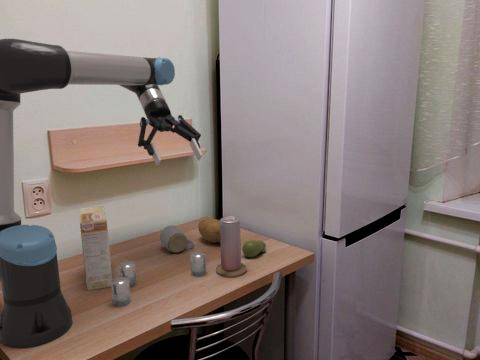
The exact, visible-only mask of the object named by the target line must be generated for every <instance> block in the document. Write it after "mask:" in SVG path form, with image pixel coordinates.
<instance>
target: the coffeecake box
mask: <svg viewBox="0 0 480 360" xmlns="http://www.w3.org/2000/svg"><path fill="white" fill-rule="evenodd" d="M79 226H80V236H81V245H82V246H81V247H82V255H83V266H84V274H85V282H86V290H87V291H92V290H94V291H95V290H97V289H98V290H99V289H104V288H112V287H111V281H112V280H113V272H112V271H113V270H112V263H111V250H110V241H109V231H108V221H107V215H106V210H105V206H104V205H103V206H102V205H101V206H93V207H92V206H91V207H88V206H87V207H81V208H79Z"/></svg>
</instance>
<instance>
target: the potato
mask: <svg viewBox="0 0 480 360" xmlns="http://www.w3.org/2000/svg"><path fill="white" fill-rule="evenodd" d="M198 221H199V220H198ZM197 227H198V232H199V234H200V235H201V238H203V239H204V240H206V241H208V242H209V243H212V244H215V243H220V219H215V218H212V217H204V218H202V219H200V221H199V222H198V225H197Z"/></svg>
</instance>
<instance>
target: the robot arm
mask: <svg viewBox="0 0 480 360" xmlns="http://www.w3.org/2000/svg"><path fill="white" fill-rule="evenodd" d="M175 71H176V70H175V66H174V63H173V62H172V60H170V58H168V57H160V56H159V57H142V56H131V55H120V54H108V53H98V52H97V53H96V52H95V53H94V52H87V51H75V50H74V51H72V50H67V49H66V48H65V47H63V46H61V45H58V44H57V45H56V44H49V43H43V42H42V43H41V42H36V41H31V40H25V39H19V38H2V39H1V38H0V285H1V291H2V298H3V308H2V311H1V317H0V342H1V343H2V344H3V345H6V346H8V347H11V348H28V347H35V346H38V345H43V344H46V343H48V342H51V341H53V340H56V339H57V338H59V337H61V336H63V335H64V334H65V333H67V332H68V331H69V330H70V328H71V326H72V324H73V313H72V309H71V308H70V306H69V305H68V303H67V301H66V299H65V297H64V295H63V293H62V289H61V287H62V286H61V281H60V280H61V279H60V271H59V265H58V264H59V261H58V254H57V253H58V252H57V250H58V247H57V244H56V239H55V235H54V233H53V232H52V231H51V230H50V229H49V228H47V227H45V226H42V225H38V224H37V225H36V224H32V225H29V224H22V217H21V216H20V214H18V213H17V212H16V211H15V179H14V177H15V175H14V174H15V173H14V171H15V170H14V167H15V166H14V164H15V163H14V161H15V160H14V154H15V153H14V150H15V149H14V111H15V110H16V109H17V108H18V107H20V105H21V94H27V93H32V92H38V91H45V90H57V89H58V90H61V89H64V88H65V89H66V88H67V87H68V85H90V86H91V85H96V86H97V85H103V86H104V85H108V86H109V85H111V86H112V85H114V86H115V85H117V86H120V87H122V88H123V89H124V88H125V89H126V90H128V91H130V92H132V93H134V94H135V95H136V96H137V99H138V101H139V104H140V105H141V107H142V109H143V111H144V115H145V117H144V116H141V118H140V121H139V126H140V129H139V131H140V132H139V137H138V141H137V146H138V147H139V148H141V147H143V150H146V151H147V155H149V156H151V157H152V159H153V162H154V164H155V166H156V167H158V166H160V164H161V161H162V159H161V156H160V154H159V152H158V149H157V147H156V145H155V143H154V142H153V139H154V138H155V135H156V133H157V132H160V133H163V132H171V133H173V134H177V135H178V136H180V137H182V138H183V139H185V140H186V141H188V142H189V146H190V148H191V150H192V152H193V154H194V156H195V159H196V161H200V160H201V159H202V158H203V153H202V151H201V144H200V143H199V140H200V138H201V137H202V134H201V133H200V132H199V131H198V130H196V128H194V127H193V126H192V124H190V123H188V122H187V120H186V119H184V117H183V116H182V114H178V116H175V117H174V116H173V115H172V113H171V112H172V111H171V109H170V108H169V105H168V103H167V101H166V98H165V97H164V95H163V92H162V90H161V89H160V87H159V86H164V85H170V84H172V82H173V81H174V79H175V75H176V72H175ZM148 125H149V126H150V127H151V128H152V129H151V131H150V133H149V135H148V136H147V139H145V135H146V129H147V126H148Z"/></svg>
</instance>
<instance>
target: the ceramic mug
mask: <svg viewBox="0 0 480 360" xmlns="http://www.w3.org/2000/svg"><path fill="white" fill-rule="evenodd" d="M159 242H160V244H162V245H163V246H164V247H165V248H166V249H167V250H168V251H169V252H171V253H174V254H178V253H180V252H183V251H184V250H185V249H186V248H189V249H193V247H194V246H195V242H193V241H192V240H190V239H189V238H188V237H187V236H186V235H185V234H184V233H183V231H182V230H181V229H180V228H179V227H178V226H176V225H173V224H172V225H167V226H165V227H164V228H163V229H162V230H161V231H160V234H159Z"/></svg>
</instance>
